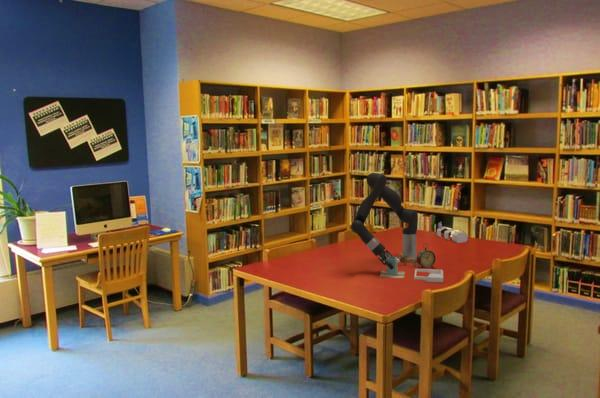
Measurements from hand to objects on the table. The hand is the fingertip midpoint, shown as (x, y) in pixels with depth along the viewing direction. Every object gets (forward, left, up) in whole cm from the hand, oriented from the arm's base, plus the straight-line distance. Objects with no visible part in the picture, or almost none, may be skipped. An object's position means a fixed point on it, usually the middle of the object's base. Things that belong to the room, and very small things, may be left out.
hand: (394, 266), depth 295 cm
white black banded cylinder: (-105, +36, -7) cm, 111 cm away
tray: (0, +20, -6) cm, 21 cm away
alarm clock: (-20, +18, -6) cm, 28 cm away
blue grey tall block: (0, -1, -5) cm, 5 cm away
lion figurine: (-20, +7, -6) cm, 22 cm away
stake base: (0, -1, -6) cm, 6 cm away
